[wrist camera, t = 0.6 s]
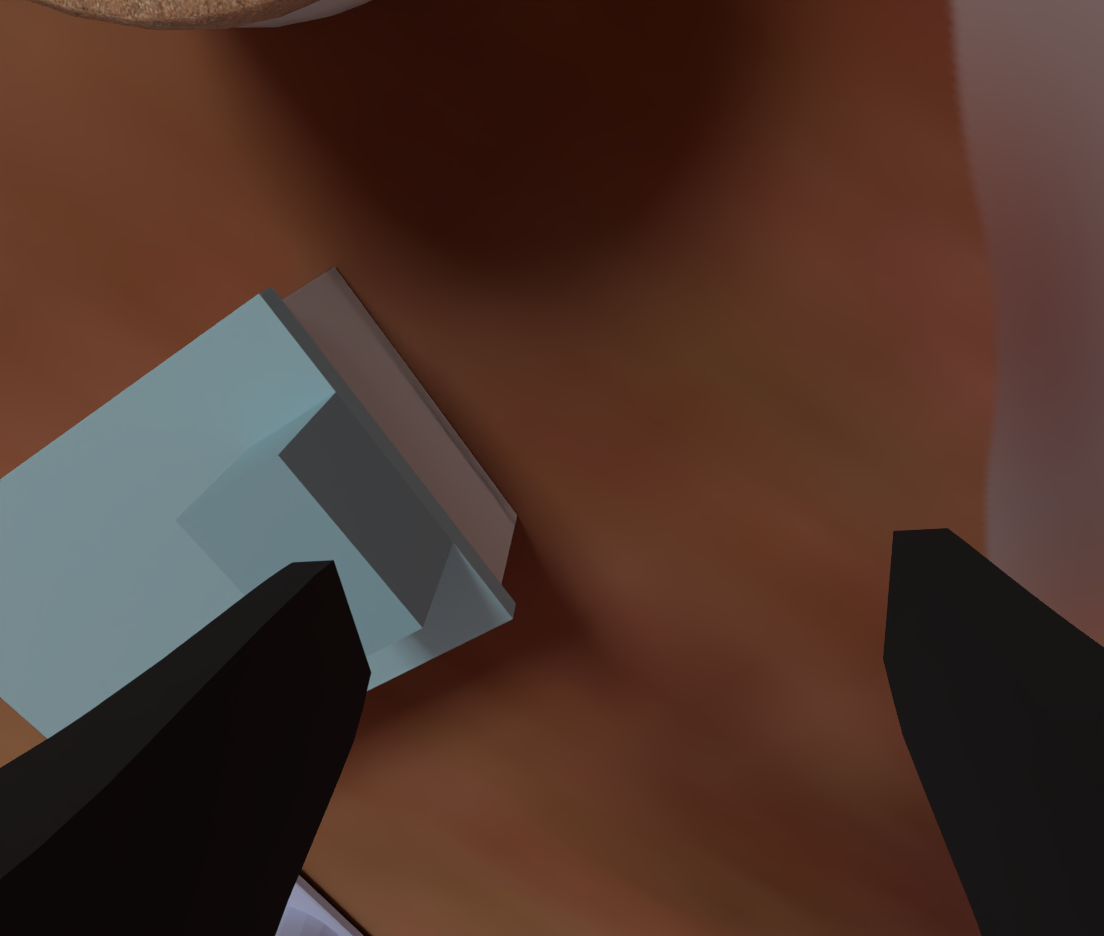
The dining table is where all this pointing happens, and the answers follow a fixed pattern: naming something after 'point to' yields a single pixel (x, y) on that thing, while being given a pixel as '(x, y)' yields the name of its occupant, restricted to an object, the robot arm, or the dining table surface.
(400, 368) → the tub
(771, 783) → the dining table surface
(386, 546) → the lid
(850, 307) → the dining table surface
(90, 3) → the lidded jar
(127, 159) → the dining table surface
